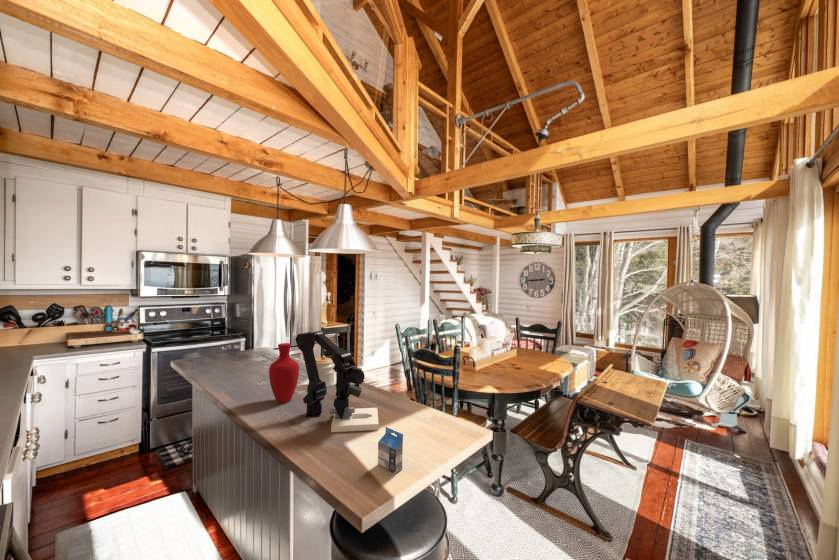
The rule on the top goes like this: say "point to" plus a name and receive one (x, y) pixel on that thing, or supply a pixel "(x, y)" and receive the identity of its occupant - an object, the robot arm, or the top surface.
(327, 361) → the jar
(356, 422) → the cream flat slab
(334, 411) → the servo
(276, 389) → the vase
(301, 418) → the top surface
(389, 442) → the label tape cartridge
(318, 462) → the top surface
